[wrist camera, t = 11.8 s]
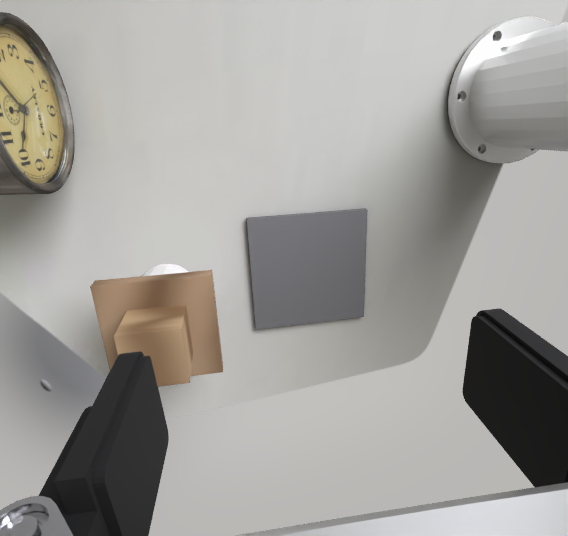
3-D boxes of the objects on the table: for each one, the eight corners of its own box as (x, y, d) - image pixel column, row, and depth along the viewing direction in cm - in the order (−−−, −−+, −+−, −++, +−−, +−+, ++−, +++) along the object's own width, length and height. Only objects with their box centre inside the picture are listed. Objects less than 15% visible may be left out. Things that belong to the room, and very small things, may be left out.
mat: (365, 208, 38) (367, 209, 38) (361, 314, 43) (363, 316, 42) (246, 217, 37) (246, 219, 36) (255, 326, 41) (255, 329, 41)
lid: (211, 270, 31) (210, 296, 26) (222, 364, 34) (223, 402, 29) (95, 280, 30) (71, 310, 25) (117, 377, 33) (99, 420, 28)
